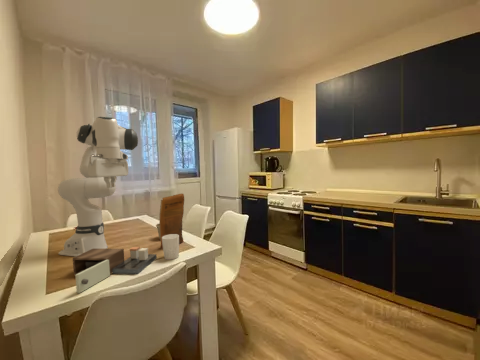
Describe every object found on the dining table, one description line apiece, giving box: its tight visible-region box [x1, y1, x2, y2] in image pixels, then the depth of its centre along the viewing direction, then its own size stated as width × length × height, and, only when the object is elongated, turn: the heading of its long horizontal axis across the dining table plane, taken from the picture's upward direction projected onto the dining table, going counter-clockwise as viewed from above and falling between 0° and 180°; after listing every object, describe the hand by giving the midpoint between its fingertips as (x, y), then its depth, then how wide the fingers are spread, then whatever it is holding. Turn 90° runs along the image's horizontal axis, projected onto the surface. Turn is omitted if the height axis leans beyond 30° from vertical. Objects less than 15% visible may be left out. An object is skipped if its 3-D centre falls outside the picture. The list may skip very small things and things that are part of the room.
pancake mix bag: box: [158, 192, 185, 250], centre depth 125 cm, size 7×19×28 cm, turn 149°
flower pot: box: [155, 223, 160, 240], centre depth 139 cm, size 9×9×9 cm
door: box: [74, 260, 111, 294], centre depth 84 cm, size 13×2×6 cm, turn 165°
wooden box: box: [72, 248, 125, 276], centre depth 97 cm, size 15×11×7 cm
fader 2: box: [138, 247, 149, 260], centre depth 101 cm, size 3×3×4 cm
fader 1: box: [129, 246, 141, 259], centre depth 103 cm, size 3×3×4 cm
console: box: [111, 253, 158, 275], centre depth 100 cm, size 11×16×2 cm
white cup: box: [162, 234, 180, 260], centre depth 108 cm, size 8×8×10 cm
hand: (110, 187), depth 97 cm, fingers closed
